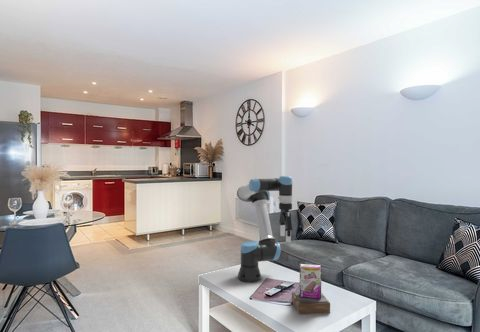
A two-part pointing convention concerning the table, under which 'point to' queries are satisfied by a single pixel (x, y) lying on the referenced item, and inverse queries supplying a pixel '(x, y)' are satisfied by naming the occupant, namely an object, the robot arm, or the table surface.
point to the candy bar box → (310, 281)
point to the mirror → (310, 304)
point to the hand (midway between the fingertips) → (285, 238)
